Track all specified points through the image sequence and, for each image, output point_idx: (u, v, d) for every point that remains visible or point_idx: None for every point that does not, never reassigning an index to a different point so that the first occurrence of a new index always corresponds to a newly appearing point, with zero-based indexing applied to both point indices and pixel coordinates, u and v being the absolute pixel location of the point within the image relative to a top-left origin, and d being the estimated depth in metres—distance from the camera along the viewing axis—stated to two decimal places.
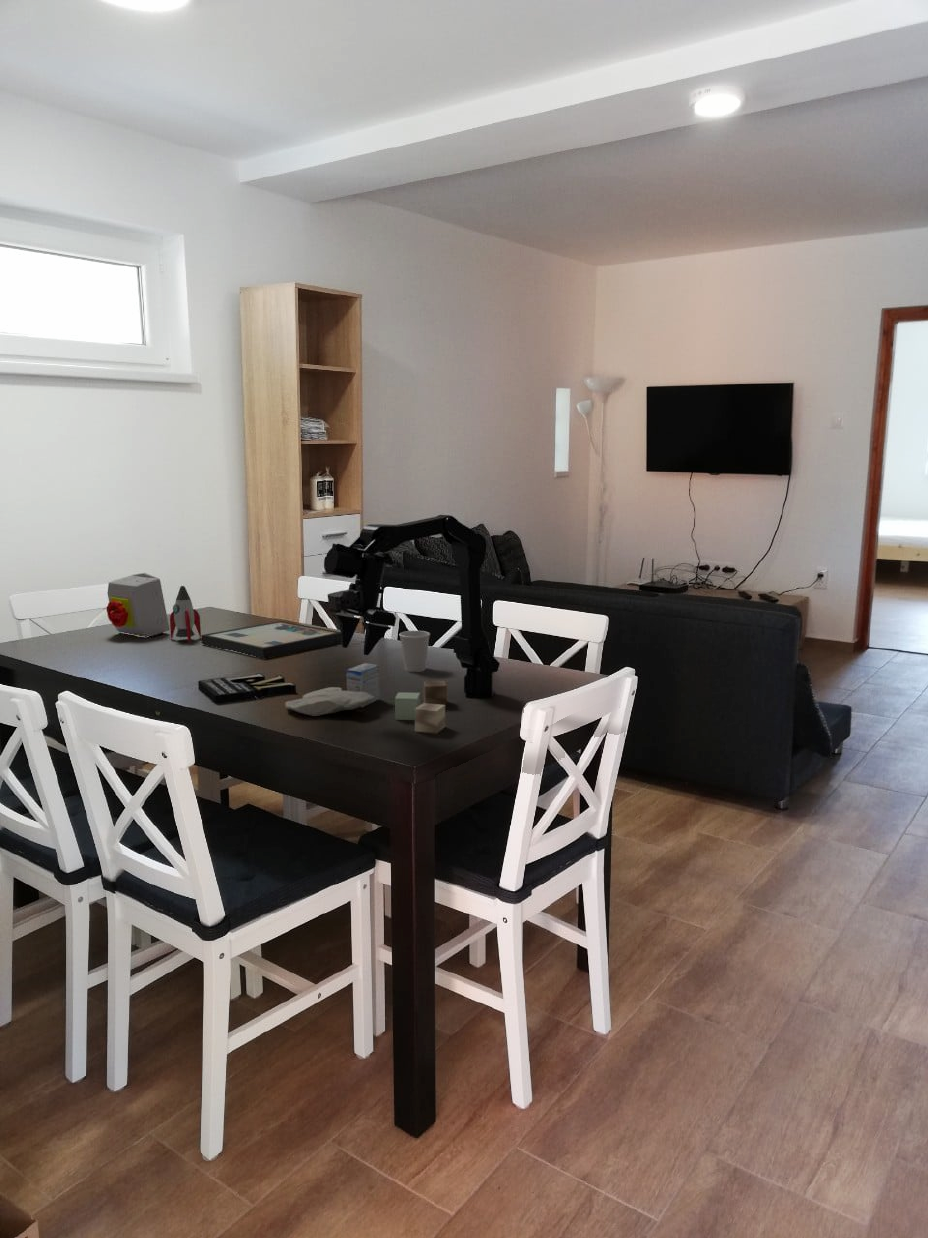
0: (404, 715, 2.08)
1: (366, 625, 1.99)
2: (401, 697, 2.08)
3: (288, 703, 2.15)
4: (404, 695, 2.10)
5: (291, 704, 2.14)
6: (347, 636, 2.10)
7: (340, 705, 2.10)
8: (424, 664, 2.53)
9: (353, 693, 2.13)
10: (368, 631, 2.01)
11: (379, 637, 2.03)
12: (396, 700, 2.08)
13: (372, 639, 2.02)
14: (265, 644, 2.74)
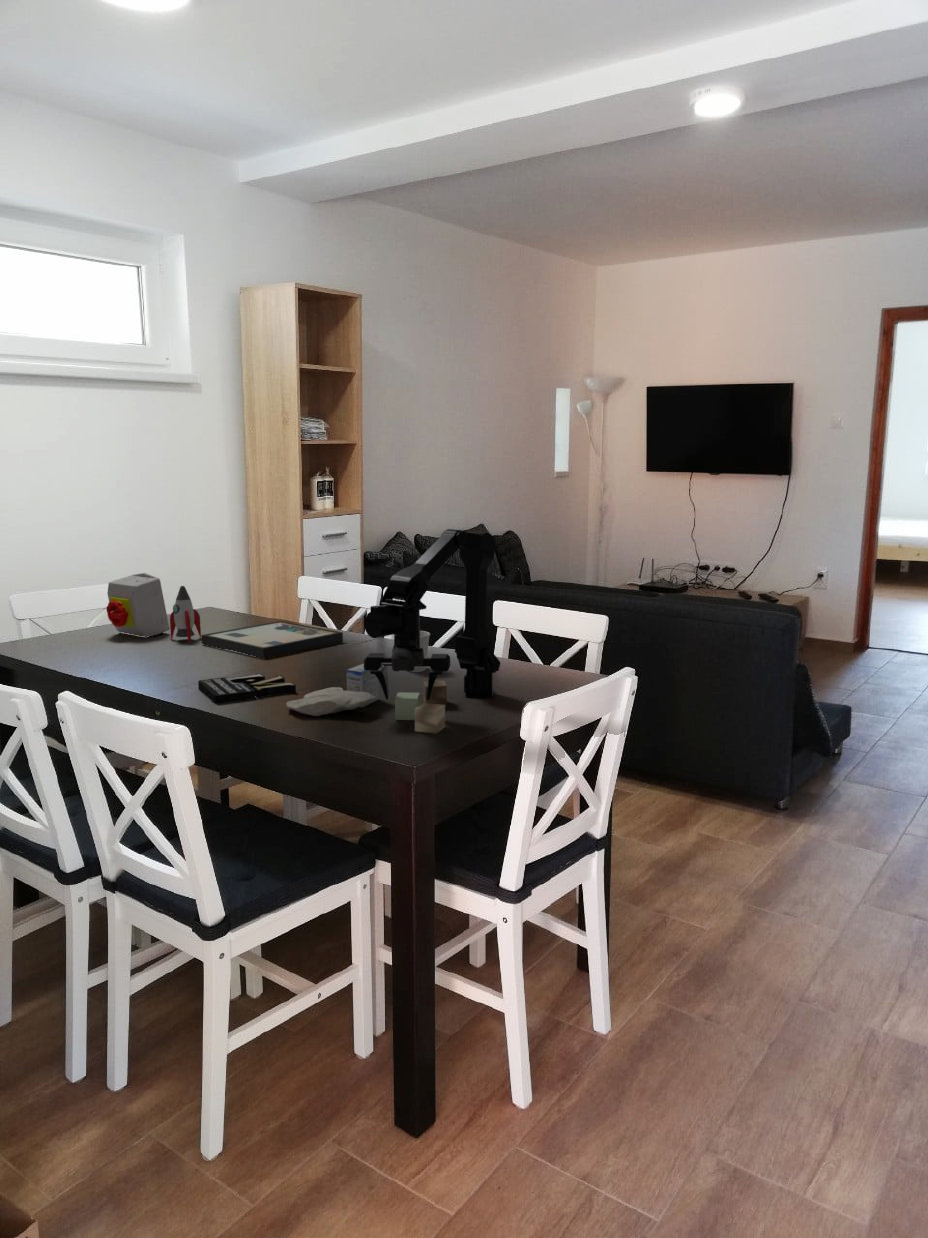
0: (404, 715, 2.08)
1: (436, 674, 2.06)
2: (401, 697, 2.08)
3: (289, 703, 2.15)
4: (404, 695, 2.10)
5: (292, 704, 2.14)
6: (387, 687, 2.10)
7: (341, 705, 2.10)
8: None
9: (354, 693, 2.13)
10: (434, 679, 2.07)
11: None
12: (396, 700, 2.08)
13: None
14: (265, 644, 2.74)
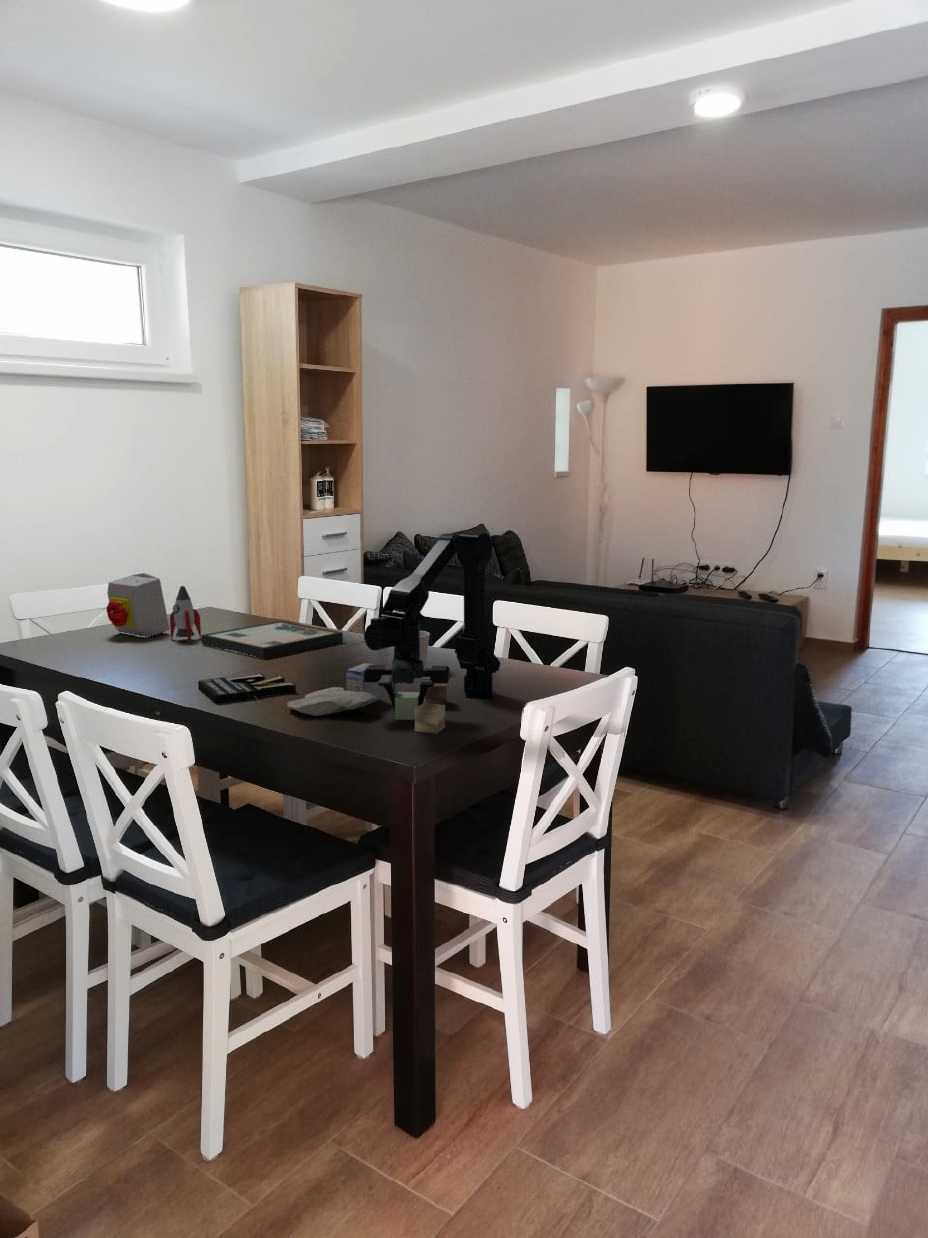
0: (404, 715, 2.08)
1: (427, 686, 2.06)
2: (401, 697, 2.08)
3: (290, 703, 2.15)
4: (404, 694, 2.10)
5: (293, 704, 2.14)
6: None
7: (341, 705, 2.10)
8: (424, 664, 2.53)
9: (355, 693, 2.13)
10: (425, 690, 2.08)
11: None
12: (396, 700, 2.08)
13: (424, 695, 2.10)
14: (265, 644, 2.74)
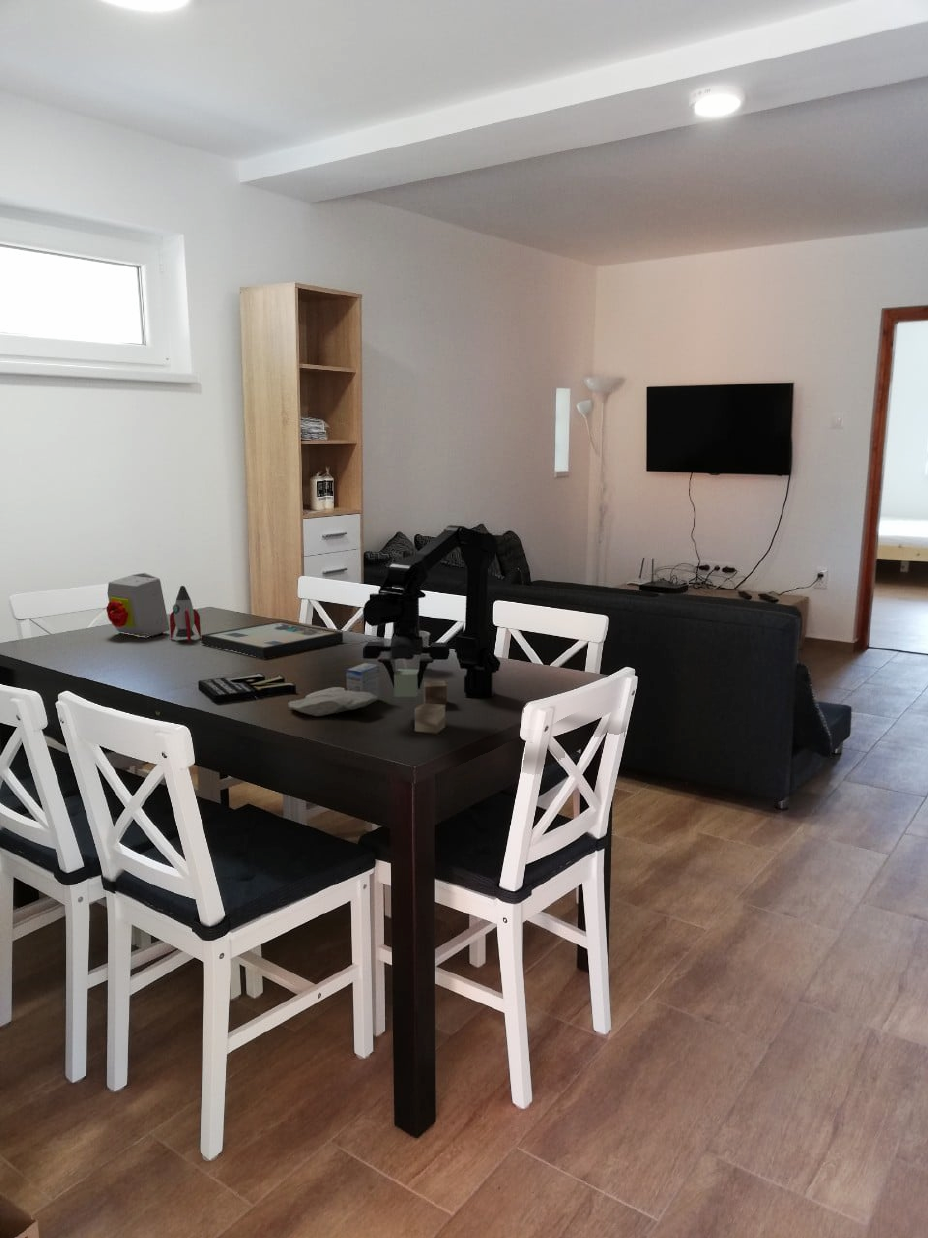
0: (403, 692, 2.07)
1: (427, 663, 2.05)
2: (400, 673, 2.07)
3: (291, 703, 2.15)
4: (404, 671, 2.09)
5: (294, 704, 2.14)
6: None
7: (343, 705, 2.10)
8: None
9: (356, 693, 2.13)
10: (425, 667, 2.07)
11: None
12: (395, 676, 2.07)
13: (424, 672, 2.09)
14: (265, 644, 2.74)
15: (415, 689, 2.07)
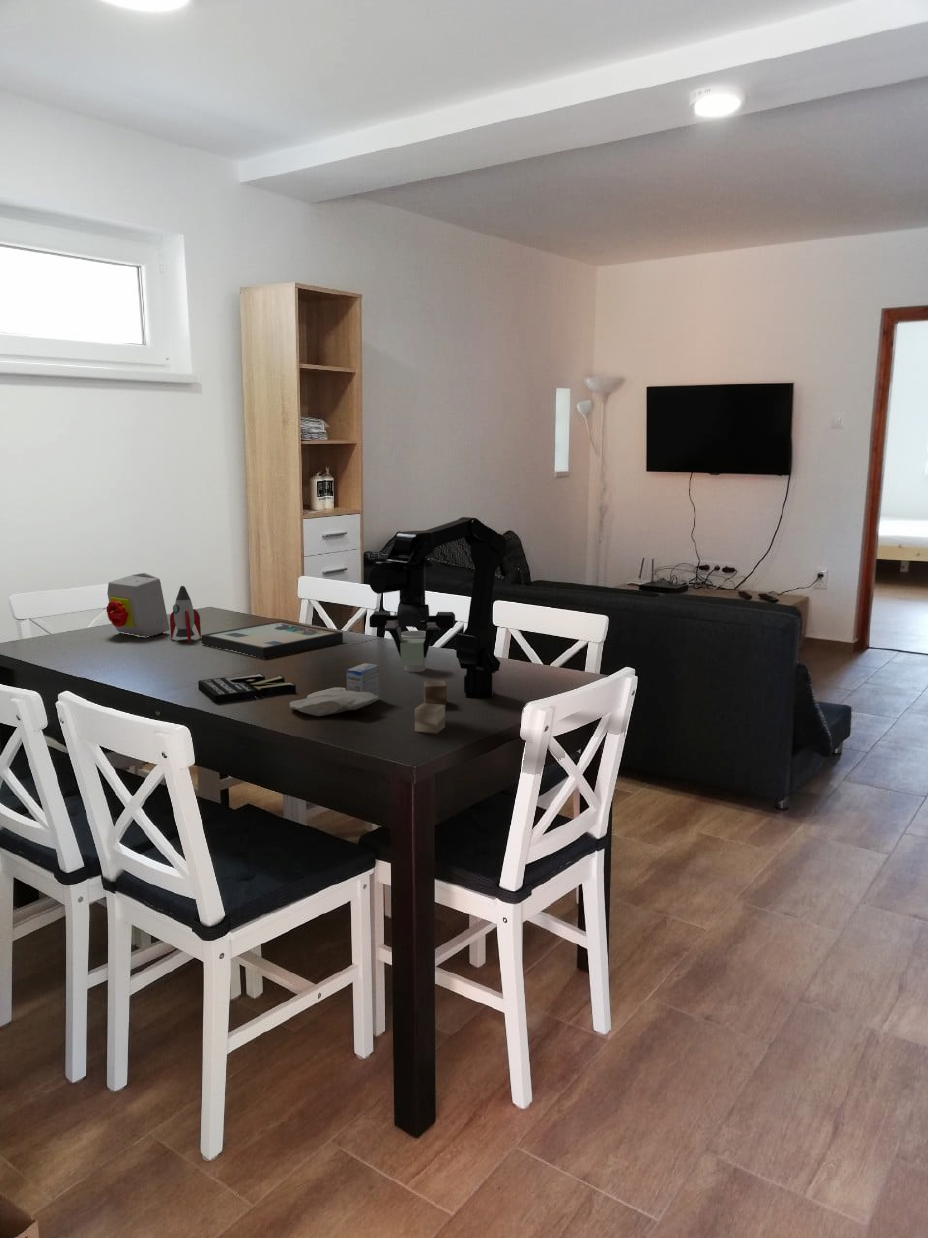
0: (409, 660, 2.09)
1: (433, 631, 2.07)
2: (406, 642, 2.09)
3: (292, 703, 2.15)
4: (410, 640, 2.11)
5: (295, 704, 2.14)
6: None
7: (344, 705, 2.10)
8: (424, 664, 2.53)
9: (357, 693, 2.13)
10: (431, 636, 2.08)
11: None
12: (401, 645, 2.08)
13: (430, 641, 2.11)
14: (265, 644, 2.74)
15: (421, 657, 2.09)
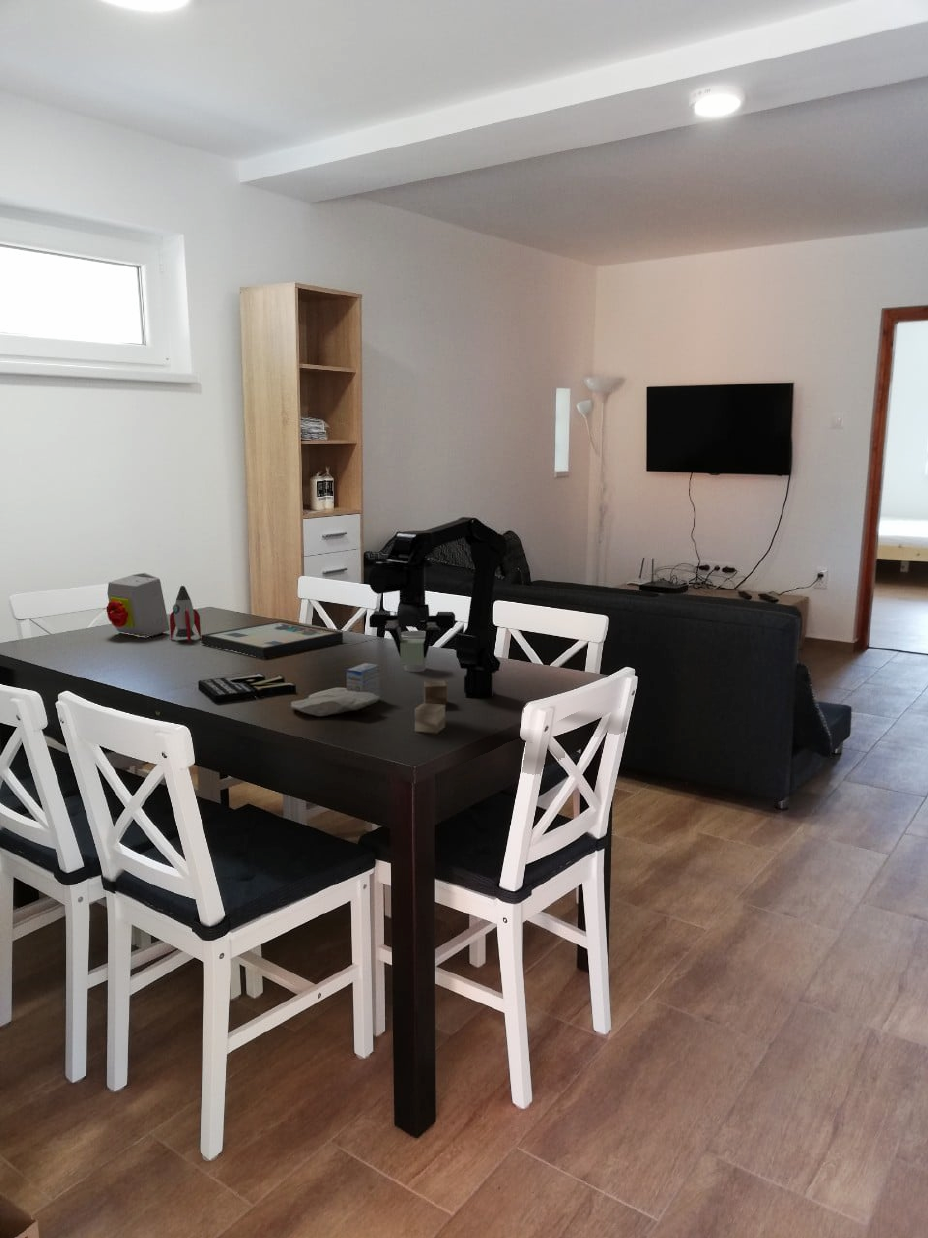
0: (409, 660, 2.09)
1: (433, 631, 2.07)
2: (406, 642, 2.09)
3: (293, 703, 2.14)
4: (410, 640, 2.11)
5: (296, 704, 2.14)
6: None
7: (345, 705, 2.09)
8: (424, 664, 2.53)
9: (358, 693, 2.12)
10: (431, 636, 2.08)
11: None
12: (401, 645, 2.08)
13: (430, 641, 2.11)
14: (265, 644, 2.74)
15: (421, 657, 2.09)
